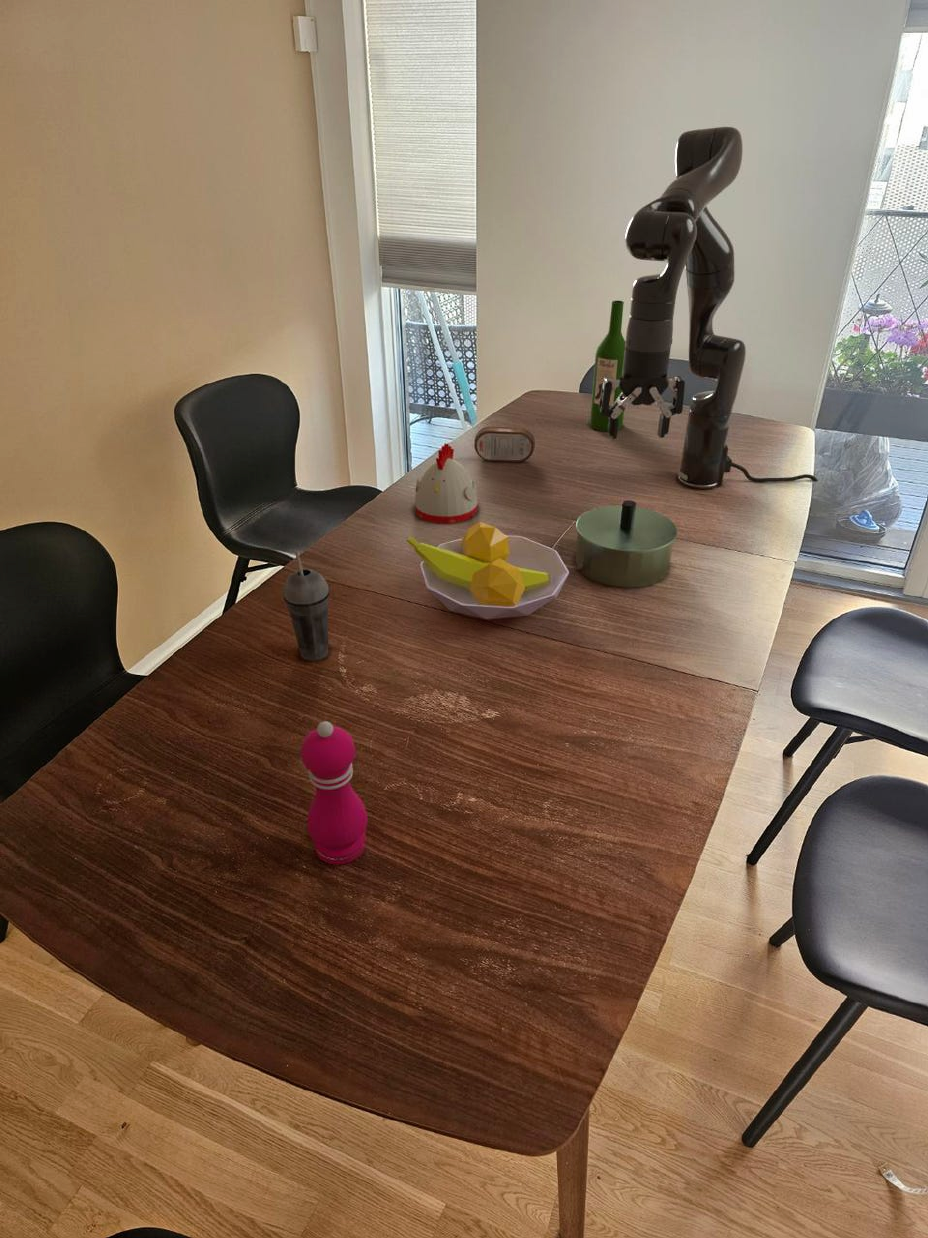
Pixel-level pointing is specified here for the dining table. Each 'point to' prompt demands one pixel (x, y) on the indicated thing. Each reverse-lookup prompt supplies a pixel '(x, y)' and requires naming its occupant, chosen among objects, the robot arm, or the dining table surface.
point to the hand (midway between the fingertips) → (637, 436)
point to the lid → (626, 529)
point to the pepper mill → (333, 795)
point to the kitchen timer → (445, 491)
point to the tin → (504, 444)
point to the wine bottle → (608, 367)
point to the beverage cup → (308, 611)
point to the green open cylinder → (622, 565)
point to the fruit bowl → (491, 573)
